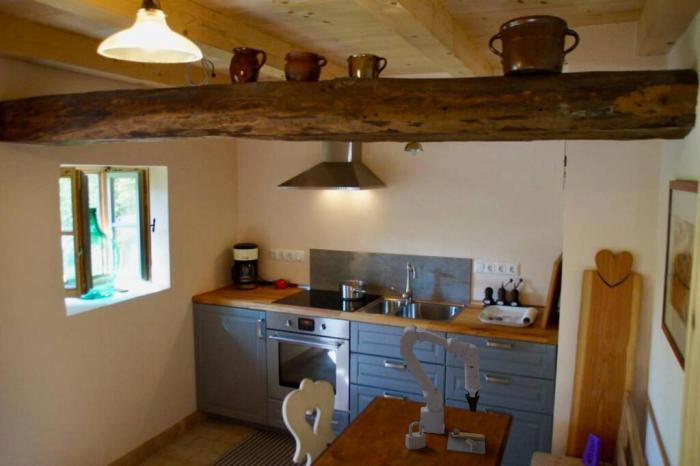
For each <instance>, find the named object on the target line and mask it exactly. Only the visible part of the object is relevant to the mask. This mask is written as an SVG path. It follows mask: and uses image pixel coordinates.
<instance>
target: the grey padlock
mask: <svg viewBox="0 0 700 466" xmlns="http://www.w3.org/2000/svg"><path fill="white" fill-rule="evenodd" d="M414 426H418V431H417V432H416V431H415V432H413V427H414ZM405 447H406V449H407V450H409V451H410V450H418V449H422V448H425V447H426V434H425V432H422V424H421V423H420V421H413V422H411V424H410V425H409V427H408V433H406V434H405Z"/></svg>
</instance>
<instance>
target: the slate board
mask: <svg viewBox="0 0 700 466" xmlns="http://www.w3.org/2000/svg"><path fill="white" fill-rule="evenodd" d="M452 432H453V431H448V440H447V447H446V450H447V452H456V453H464V454H465V453H466V454H475V455H486V435H485V434H482V440H475V439H471V440H473V441H474V442H475V443H476V450H471V449H470V445H469V444H468V443H467V442H466V439H465V438H454V437H452Z"/></svg>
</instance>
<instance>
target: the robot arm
mask: <svg viewBox="0 0 700 466" xmlns="http://www.w3.org/2000/svg"><path fill="white" fill-rule="evenodd" d="M423 342H429V343H431V344H435V345H436V346H437V345H438V346H441V347H444V348H445V350H446V352H449V353H450V354H453V355H456V356H458V357H462V358H464V388H465V389H466V390H465V391H467V393H464V395H465V396H464V397H465V399H466V401H467V403H468V407H469V412H471V413H476V412H477V409H478V408H477V406H478V402H479V399H480V398H481V397H480V396H481V395H478V394H479V391H480V390H481V389H483V385H482V384H481V383H480V363H479V361H480V360H479V359H480V353H479V348H478V347H477V346H476V345H475V344H474V343H471V342H470V343H469V342H463V341H461V340H459V338H457V337H456V336H455V337H450V338H449V337H448V338H445V337H444V336H441V335H438V334H436V333H434V332H432V331H429V330H427V329H425V328H423V327H421V326H416V325H415V324H408V325H406V326H405V327H404V329H403V331H402V333H401V337H400V339H399V354H400V356H401V358H402V360H403V361H404V363H405V365H406V366H407V368H408V370H409V371H410V373H411V374H412V376H413V378H414V380H415V381H416V383H417V385H419V388H420V389H421V391H422V394H423V397H424V399H425V401H426V405H425V406H422V407H421V408H420V420H419V422H420V423H421V424H422V432H423V433H428V434H429V433H430V434H437V435H439V434H441V435H444V434H445V428H446V425H445V424H444V423H445V422H444V420H445V418H444V417H445V415H444V414H445V413H444V409H445V407H444V406H443V399H444V394H443V392H442V390H441V389H439V388H437V387H436V385H435V384H434V383H433V382H432V380H431V379H430V377H429V376H428V374H427V372H426V371H425V369H424V367H423V366H422V364H421V362H420V361H419V359H418V358H417V356H416V355H415V353H414V351H413V349H414V346H415V345H416V343H418V344H420V343H423Z"/></svg>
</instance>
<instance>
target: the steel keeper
mask: <svg viewBox="0 0 700 466" xmlns="http://www.w3.org/2000/svg"><path fill="white" fill-rule="evenodd" d="M466 442H467V443H468V444H469V445H470V449H471V450H476V443H475V442H474V441H473V440H471V439H466Z"/></svg>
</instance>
